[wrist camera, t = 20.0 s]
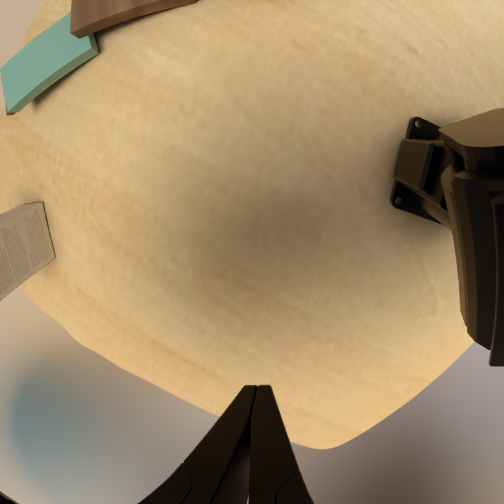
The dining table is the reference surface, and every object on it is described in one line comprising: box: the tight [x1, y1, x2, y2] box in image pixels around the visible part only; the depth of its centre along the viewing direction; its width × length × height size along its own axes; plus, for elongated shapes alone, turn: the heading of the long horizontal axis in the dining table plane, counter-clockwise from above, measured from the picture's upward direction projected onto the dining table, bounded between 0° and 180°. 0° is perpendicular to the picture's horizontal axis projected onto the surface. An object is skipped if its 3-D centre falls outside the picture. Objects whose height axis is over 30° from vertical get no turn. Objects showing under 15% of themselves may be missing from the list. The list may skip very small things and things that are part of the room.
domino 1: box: [0, 12, 99, 112], centre depth 13 cm, size 2×5×9 cm
